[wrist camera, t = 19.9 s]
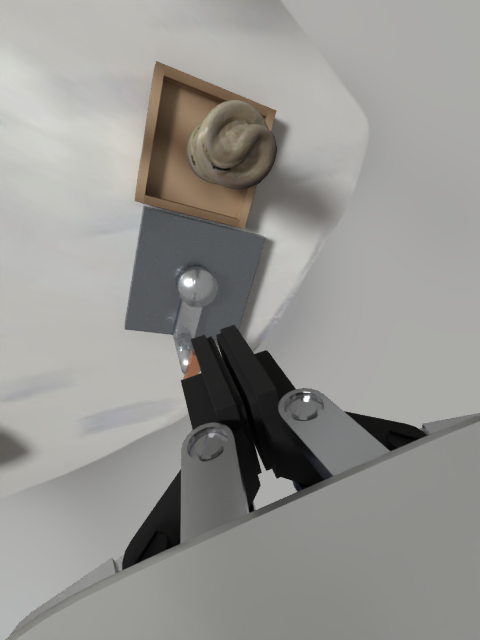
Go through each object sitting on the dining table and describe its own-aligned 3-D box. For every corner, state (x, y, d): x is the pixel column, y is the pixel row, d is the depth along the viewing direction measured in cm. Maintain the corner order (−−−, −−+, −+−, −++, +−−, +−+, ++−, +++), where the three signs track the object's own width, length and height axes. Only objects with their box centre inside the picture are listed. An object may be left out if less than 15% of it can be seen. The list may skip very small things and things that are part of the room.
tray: (154, 68, 31) (156, 61, 29) (267, 113, 36) (276, 110, 34) (134, 198, 35) (135, 201, 33) (238, 225, 40) (244, 228, 38)
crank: (181, 262, 37) (193, 285, 30) (218, 270, 39) (237, 293, 32) (161, 348, 41) (168, 387, 34) (195, 352, 43) (208, 390, 36)
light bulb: (164, 156, 34) (186, 152, 21) (195, 108, 33) (238, 72, 20) (208, 191, 36) (252, 208, 23) (237, 148, 36) (300, 140, 23)
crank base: (143, 205, 36) (144, 208, 34) (259, 234, 41) (265, 238, 39) (123, 329, 41) (123, 337, 39) (229, 341, 46) (233, 348, 44)
